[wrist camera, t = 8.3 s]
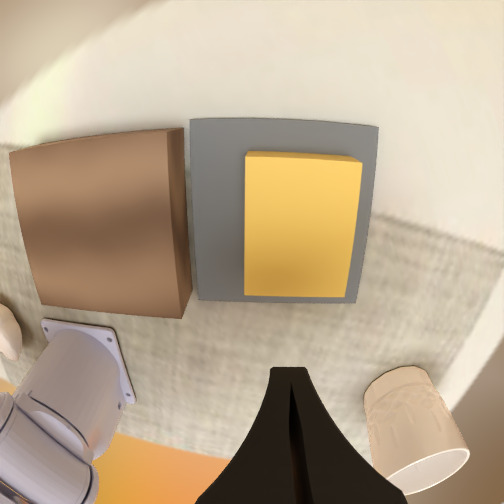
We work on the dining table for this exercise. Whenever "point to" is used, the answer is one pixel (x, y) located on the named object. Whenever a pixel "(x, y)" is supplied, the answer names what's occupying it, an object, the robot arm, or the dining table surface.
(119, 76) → the dining table surface
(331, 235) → the yellow cuboid
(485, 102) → the dining table surface
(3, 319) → the dumpling
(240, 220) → the mat
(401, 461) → the white cup
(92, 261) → the brown cuboid
